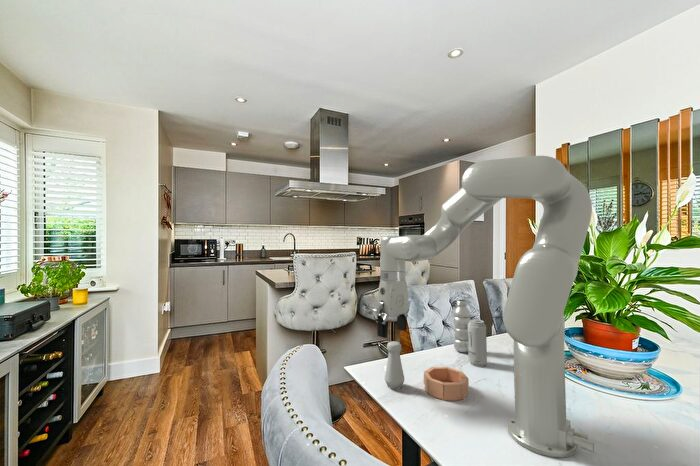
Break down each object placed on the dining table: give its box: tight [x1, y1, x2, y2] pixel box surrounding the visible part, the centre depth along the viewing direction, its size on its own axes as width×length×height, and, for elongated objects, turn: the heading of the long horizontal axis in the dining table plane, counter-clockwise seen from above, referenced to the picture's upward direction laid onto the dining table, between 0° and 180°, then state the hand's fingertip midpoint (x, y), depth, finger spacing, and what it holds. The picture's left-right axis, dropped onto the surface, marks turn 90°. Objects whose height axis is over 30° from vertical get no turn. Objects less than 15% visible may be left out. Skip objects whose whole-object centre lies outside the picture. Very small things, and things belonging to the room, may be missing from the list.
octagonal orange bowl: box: [423, 366, 470, 402], centre depth 87 cm, size 12×12×4 cm
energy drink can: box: [467, 318, 488, 368], centre depth 106 cm, size 6×6×15 cm
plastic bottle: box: [452, 299, 472, 353], centre depth 118 cm, size 6×7×20 cm
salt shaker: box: [384, 340, 405, 391], centre depth 89 cm, size 6×6×13 cm
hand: (392, 333), depth 90 cm, fingers open, 9 cm apart
